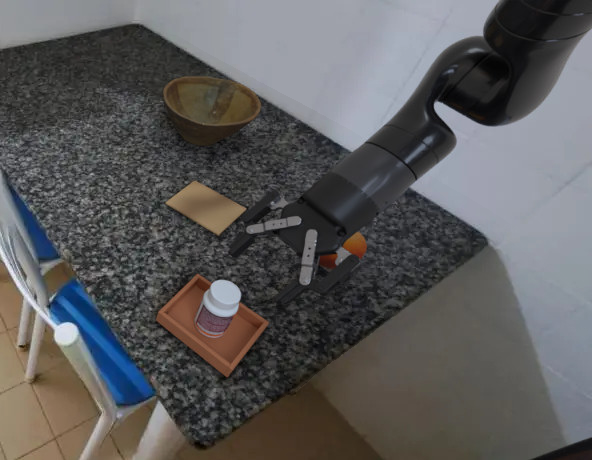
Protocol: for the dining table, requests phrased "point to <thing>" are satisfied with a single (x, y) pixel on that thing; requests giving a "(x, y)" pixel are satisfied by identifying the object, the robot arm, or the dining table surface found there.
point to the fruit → (352, 245)
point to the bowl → (209, 108)
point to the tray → (214, 350)
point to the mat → (206, 207)
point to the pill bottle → (217, 308)
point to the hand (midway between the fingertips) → (252, 277)
